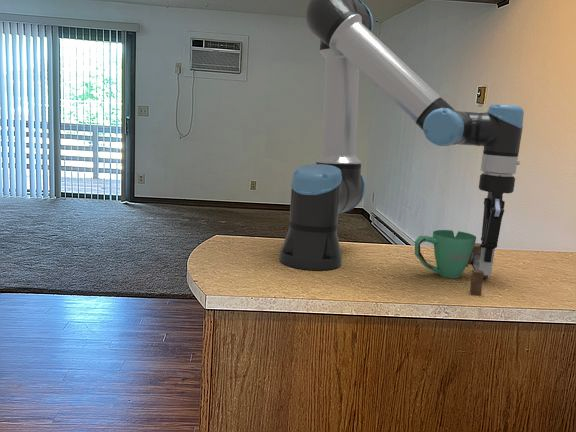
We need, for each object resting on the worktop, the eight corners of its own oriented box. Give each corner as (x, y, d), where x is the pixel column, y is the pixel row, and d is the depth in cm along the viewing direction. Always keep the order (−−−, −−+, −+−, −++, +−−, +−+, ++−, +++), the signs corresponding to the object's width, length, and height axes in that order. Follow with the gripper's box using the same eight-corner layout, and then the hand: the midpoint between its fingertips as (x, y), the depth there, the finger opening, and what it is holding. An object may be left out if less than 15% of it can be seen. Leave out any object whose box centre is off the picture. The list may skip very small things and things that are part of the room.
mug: (457, 269, 140) (462, 230, 138) (479, 281, 131) (484, 239, 129) (402, 269, 137) (407, 229, 135) (421, 281, 127) (426, 238, 125)
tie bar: (479, 277, 133) (480, 267, 132) (466, 252, 158) (467, 244, 158) (487, 278, 132) (489, 268, 132) (473, 253, 158) (474, 244, 157)
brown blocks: (471, 294, 120) (473, 271, 119) (456, 259, 151) (458, 240, 150) (503, 298, 119) (506, 275, 118) (482, 261, 149) (484, 243, 148)
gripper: (521, 178, 121) (506, 284, 125) (510, 173, 133) (496, 269, 137) (484, 175, 122) (471, 280, 126) (477, 170, 135) (465, 265, 139)
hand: (484, 274), depth 132 cm, fingers closed
